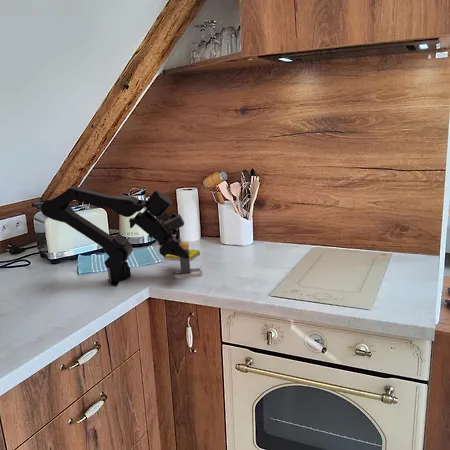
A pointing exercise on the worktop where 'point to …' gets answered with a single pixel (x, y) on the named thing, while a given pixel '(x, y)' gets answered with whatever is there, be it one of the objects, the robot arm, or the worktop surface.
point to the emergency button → (192, 255)
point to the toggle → (183, 261)
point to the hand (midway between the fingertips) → (188, 255)
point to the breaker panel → (188, 274)
